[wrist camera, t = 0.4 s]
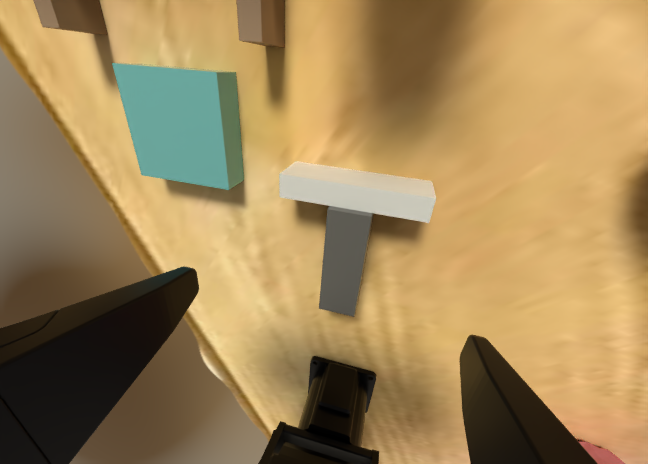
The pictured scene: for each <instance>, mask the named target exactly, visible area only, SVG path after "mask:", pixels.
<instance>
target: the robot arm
mask: <svg viewBox="0 0 648 464" xmlns="http://www.w3.org/2000/svg"><path fill="white" fill-rule="evenodd" d="M198 291H199V284H198V278H197V272H196V270H195V269H193V268H189V267H180V268H177V269H175V270H172V271H169V272H166V273H163V274H160V275H157V276H154V277H151V278H148V279H145V280H143V281H140V282H137V283H134V284H131V285H128V286H125V287H122V288H120V289H116V290H113V291H111V292H108V293H105V294H102V295H99V296H96V297H93V298H90V299H88V300H85V301H82V302H79V303H76V304H73V305H70V306H67V307H64V308H61V309H60V310H55V311H52V312H50V313H47V314H44V315H41V316H38V317H35V318H32V319H29V320H26V321H23V322H19V323H16V324H13V325H10V326H7V327H3V328H0V464H69V463H70V462H71V461H72V459H73V458H74V457H75V456H76V454H77V453H78V452H79V451H80V449H81V448H82V447H83V445H84V444H85V443H86V442H87V440H88V439H89V437H90V436H91V435H92V434H93V433H94V431H95V430H96V429H97V428H98V426H99V425H100V424H101V423H102V421H103V420H104V419H105V417H106V416H107V415H108V414H109V412H110V411H111V410H112V408H113V407H114V406H115V405H116V404H117V402H118V401H119V400H120V398H121V397H122V396H123V395H124V393H125V392H126V391H127V389H128V388H129V387H130V386H131V384H132V383H133V382H134V381H135V379H136V378H137V377H138V375H139V374H140V373H141V372H142V370H143V369H144V368H145V367H146V365H147V364H148V363H149V362H150V360H151V359H152V358H153V357H154V355H155V354H156V353H157V351H158V350H159V349H160V348H161V346H162V345H163V344H164V343H165V341H166V340H167V339H168V337H169V336H170V335H171V334H172V332H173V331H174V329H175V328H176V326H177V325H178V323H179V322H180V320H181V319H182V317H183V316H184V314H185V312H186V311H187V309H188V308H189V306H190V305H191V303H192V302H193V300H194V298H195V297H196V295H197V293H198ZM460 377H461V395H462V411H463V419H464V426H465V432H466V438H467V444H468V450H469V456H470V462H471V464H598V463H597V462H596V461H595V460H594V459H593V457H592V456H591V455H590V454H589V453H588V452H587V451H586V450H585V449H584V447H583V446H582V445H581V444H580V443H579V442H578V441H577V440H576V438H575V437H574V436H573V435H572V434H571V433H570V432H569V431H568V429H567V428H566V427H565V426H564V425H563V424H562V423H561V422H560V420H559V419H558V418H557V417H556V416H555V415H554V414H553V413H552V412H551V410H550V409H549V408H548V407H547V406H546V405H545V404H544V403H543V401H542V400H541V399H540V398H539V397H538V396H537V395H536V394H535V392H534V391H533V390H532V389H531V388H530V387H529V386H528V385H527V383H526V382H525V381H524V380H523V379H522V378H521V377H520V376H519V375H518V373H517V372H516V371H515V370H514V369H513V368H512V367H511V366H510V364H509V363H508V362H507V361H506V360H505V359H504V358H503V357H502V355H501V354H500V353H499V352H498V351H497V350H496V349H495V348H494V346H493V345H492V344H491V343H490V342H489V341H488V340H487V339H486V338H484V337H480V336H476V335H470V336H469V337H468V338H467V341H466V343H465V345H464V347H463V349H462V352H461V354H460ZM375 381H376V374H375V373H374V372H372V371H368V370H364V369H361V368H357V367H353V366H350V365H346V364H342V363H339V362H335V361H331V360H328V359H324V358H320V357H316V356H314V357H312V359H311V363H310V376H309V390H308V397H307V400H306V403H305V407H304V410H303V413H302V417H301V420H300V423H299V426H298V428H297V427H293V426H290V425H287V424H286V423H285V422H281V421H280V423H279V425H278V427H277V429H276V430H274V431H273V434H272V436H271V439H270V441H269V443H268V445H267V447H266V449H265V452H264V454H263V456H262V459H261V460H260V462H259V463H258V464H378V463H379V451H376V450H373V449H372V451H371V450H368V449H365V448H362V447H361V444H362V435H363V427H364V419H365V413H366V412H367V411H368V407H369V403H370V400H371V396H372V392H373V388H374V385H375Z"/></svg>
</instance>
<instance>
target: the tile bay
mask: <svg viewBox="0 0 648 464" xmlns="http://www.w3.org/2000/svg"><path fill="white" fill-rule="evenodd" d="M34 3H35V6H36V9H37V12H38V15H39V18H40V21H41V24H42V26H43V27H46V28H54V29H62V30H69V31H77V32H85V33H92V34H106V35H107V31H106V27H105V23H104V19H103V15H102V11H101V7H100V3H99V0H34ZM237 13H238V29H239V41H244V42H249V43H254V44H259V45H263V46H274V47H285V0H237Z"/></svg>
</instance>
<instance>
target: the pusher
mask: <svg viewBox="0 0 648 464" xmlns="http://www.w3.org/2000/svg"><path fill="white" fill-rule="evenodd" d="M279 186H280V197H281V198H287V199H293V200H299V201H305V202H310V203H316V204H322V205H328V206H329V207H328V209H327V221H326V233H325V244H324V256H323V268H322V279H321V291H320V303H319V309H324V310H328V311H332V312H336V313H340V314H344V315H349V316H353V317H354V316H355V311H356V306H357V302H358V297H359V292H360V288H361V282H362V277H363V271H364V265H365V260H366V254H367V248H368V243H369V237H370V232H371V226H372V220H373V215H374V214H380V215H386V216H392V217H398V218H404V219H409V220H415V221H421V222H427V223H429V221H430V218H431V214H432V211H433V207H434V204H435V201H436V196H435V192H434V187H433V183H432V181H428V180H421V179H414V178H407V177H400V176H394V175H387V174H380V173H373V172H366V171H359V170H353V169H346V168H339V167H332V166H325V165H318V164H312V163H305V162H298V161H295V162H294V163H293V164H291V165H290V166H289V167H288V168H286V169H285V170H284V171H282V172H281V173H280V174H279Z"/></svg>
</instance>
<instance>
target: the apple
mask: <svg viewBox="0 0 648 464" xmlns="http://www.w3.org/2000/svg"><path fill="white" fill-rule="evenodd" d="M579 443H580V444H581V445H582V446H583V447H584V449H585V450H586V451H587V452H588V453H589V454H590V455H591V456H592V457H593V459H594V460H595V461H596V462H597V463H598V464H625V463H624V462H623V461H621V460H620V459H619V458H618V457H617V456H615V455H614V454H613V453H611V452H610V451H609V450H608V449H603V448H599V447H596V446H594V445H592V444H590V443H588V442H579Z"/></svg>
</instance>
